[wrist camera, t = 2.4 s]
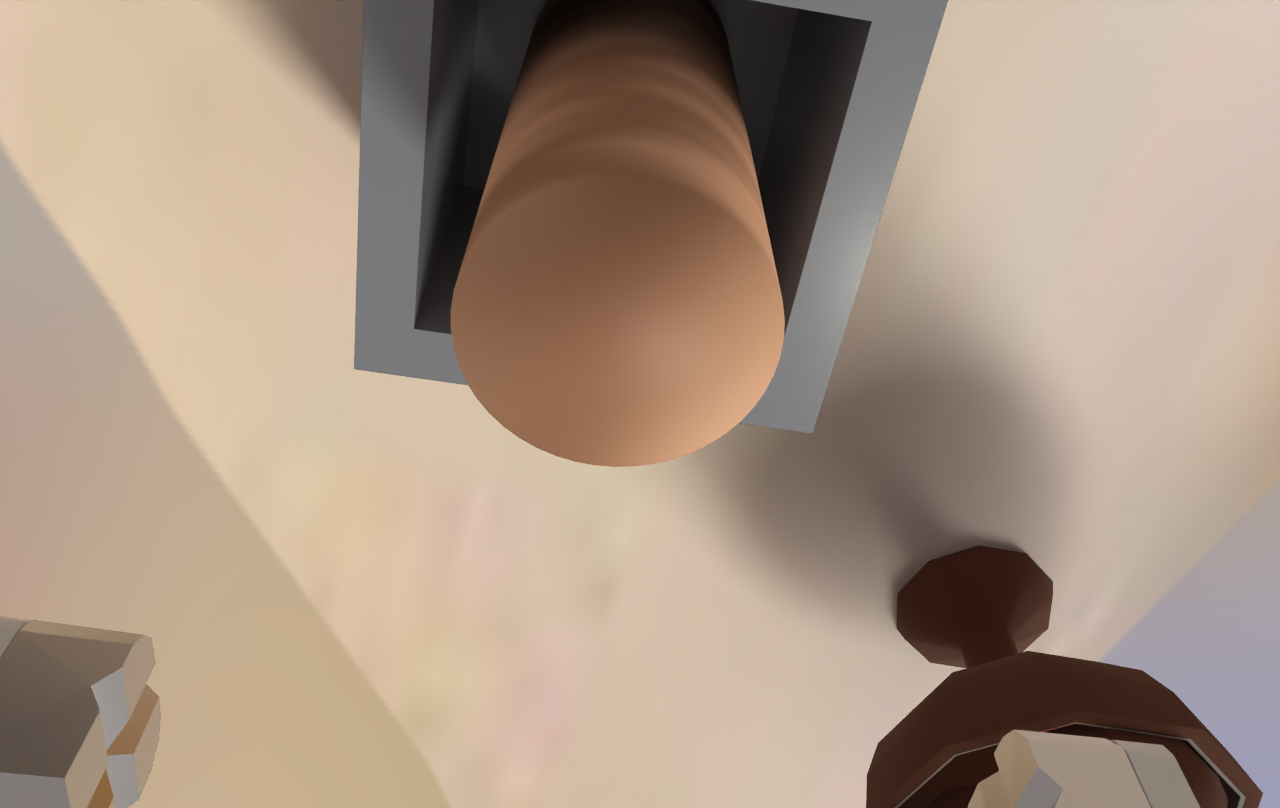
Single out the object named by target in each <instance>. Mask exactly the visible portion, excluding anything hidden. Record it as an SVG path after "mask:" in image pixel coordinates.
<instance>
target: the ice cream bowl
mask: <svg viewBox="0 0 1280 808" xmlns="http://www.w3.org/2000/svg"><path fill="white" fill-rule="evenodd" d="M1052 597H1053V582H1052V581H1051V580H1050V578H1049V577H1048V576H1047V575H1046V574H1045V573H1044V572H1043V571H1042V570H1041V569H1040V568H1039V567H1038V566H1037V565H1036V564H1035V562H1034V561H1033V560H1032V559H1031V558H1030V557H1029V556H1028V555H1027V554H1024V553H1018V552H1012V551H1006V550H1000V549H994V548H988V547H982V546H977V547H974V548H970V549H967V550H964V551H961V552H958V553H954V554H951V555H948V556H945V557H941V558H938V559H935V560H932V561H929V562H928V563H927V564H926V565H925V566H924V567H923V568H922V569H921V570H920V571H919V572H918V573H917V574H916V575H915V576H914V577H913V578H912V580H911V581H910V582H909V583H908V584H907V585H906V586H905V587H904V588H903V589H902V590H901V591H900V592H899V593H898V612H897V629H898V631H899V632H900V633H901V635H902V636H903V637H904V639H905V640H907V641H908V642H909V643H910V644H911V645H912V646H913V647H914V648H915V649H916V650H917V651H918V652H920V653H921V654H922V655H923V656H924V657H925V658H926V659H927V660H928V661H929V662H930V663H937V664H943V665H950V666H956V667H963V668H967V669H963V670H960V671H956V672H953V673H952V674H951V675H949V676H948V677H947V678H946V679H945V680H944V681H943V682H942V683H941V684H940V685H939V686H938V687H937V688H936V689H935V690H934V691H933V692H931V693H930V694H929V695H928V696H927V697H926V698H925V699H924V700H923V701H922V702H921V703H920V704H919V705H918V706H917V707H916V708H914V709H913V710H912V711H911V712H910V713H909V714H908V715H907V716H906V717H905V718H904V719H903V720H902V721H901V722H900V723H899V724H898V725H897V726H896V727H895V728H894V729H892V730H891V731H890V732H889V733H888V734H887V735H886V736H885V737H884V738H883V739H882V740H881V741H880V742H879V743H878V745H877V748H876V751H875V754H874V757H873V759H872V762H871V765H870V768H869V771H868V774H867V800H866V808H968V805H969V802H970V800H971V798H972V796H973V794H974V792H975V789H976V787H977V785H978V783H979V782H981V781H983V780H985V779H986V778H988V777H990V776H991V775H993V774H995V773H996V772H998V771H999V768H998V765H997V762H996V759H995V756H994V752H995V751H996V749H997V747H998V745H999V743H1000V742H1001V740H1002V738H1003V737H1004V736H1005V735H1006V734H1008V733H1009V732H1011V731H1012V730H1025V731H1035V732H1045V733H1055V734H1066V735H1076V736H1086V737H1096V738H1105V739H1108V740H1120V741H1129V742H1139V743H1148V744H1157V745H1163V746H1164V747H1165V748H1166V749H1168V750H1169V751H1170V752H1171V753H1172V754H1173V755H1174V757H1175V758H1176V760H1177V762H1178V764H1179V766H1180V768H1181V770H1182V772H1183V774H1184V776H1185V778H1186V780H1187V782H1188V784H1189V786H1190V788H1191V790H1192V792H1193V794H1194V796H1195V798H1196V800H1197V802H1198V804H1199V806H1200V808H1258V806H1259V803H1260V800H1261V797H1262V794H1263V793H1262V792H1261V790H1260V789H1259V788H1258V787H1257V786H1256V784H1255V783H1254V782H1253V781H1252V780H1251V778H1250V777H1249V776H1248V775H1247V773H1246V772H1245V771H1244V770H1243V769H1242V767H1241V766H1240V765H1239V764H1238V763H1237V761H1236V760H1235V759H1234V758H1233V757H1232V755H1231V754H1230V753H1229V752H1228V751H1227V750H1226V749H1225V747H1224V746H1223V745H1222V744H1221V743H1220V742H1219V741H1218V740H1217V739H1216V738H1215V737H1214V736H1213V735H1212V733H1211V732H1210V731H1209V730H1208V729H1207V728H1206V727H1205V726H1204V725H1203V724H1202V723H1201V722H1200V721H1199V720H1198V719H1197V717H1196V716H1195V715H1194V714H1193V713H1192V712H1191V711H1190V710H1189V709H1188V708H1187V706H1185V705H1184V703H1183V702H1182V701H1181V700H1180V699H1179V698H1178V697H1177V696H1176V695H1175V693H1174V692H1172V691H1171V690H1169V689H1168V688H1166V687H1165V686H1163V685H1162V684H1161V683H1159V682H1158V681H1156V680H1155V679H1154V678H1152V677H1151V676H1149V675H1148V674H1146V673H1145V672H1143V671H1141V670H1137V669H1132V668H1127V667H1121V666H1116V665H1111V664H1105V663H1101V662H1095V661H1088V660H1082V659H1076V658H1069V657H1063V656H1057V655H1050V654H1044V653H1038V652H1031V651H1026V652H1023V651H1024V650H1025V649H1026V648H1027V647H1028V646H1029V645H1030V644H1032V643H1033V642H1034V641H1035V640H1036V639H1037V638H1038V637H1039V636H1040V635H1041V634H1042V633H1044V632H1045V631H1046V630H1047V629H1048V626H1049V618H1050V611H1051V604H1052ZM1022 652H1023V653H1022Z"/></svg>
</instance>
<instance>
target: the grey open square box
mask: <svg viewBox="0 0 1280 808" xmlns="http://www.w3.org/2000/svg"><path fill="white" fill-rule="evenodd" d="M547 2H548V0H364V18H363V55H362V93H361V130H360V168H359V205H358V243H357V280H356V318H355V355H354V369H356V370H363V371H371V372H378V373H385V374H392V375H399V376H406V377H413V378H420V379H427V380H435V381H442V382H449V383H456V384H463V385H468V384H467V382H466V380H465V378H464V375H463V373H462V371H461V369H460V367H459V364H458V361H457V357H456V354H455V351H454V347H453V341H452V334H451V305H452V299H453V292H454V288H455V285H456V282H457V278H458V275H459V272H460V268H461V265H462V262H463V259H464V255H465V252H466V249H467V245H468V242H469V239H470V235H471V232H472V229H473V226H474V222H475V219H476V216H477V212H478V209H479V206H480V203H481V199H482V196H483V193H484V189H485V186H486V183H487V180H488V176H489V173H490V170H491V166H492V163H493V160H494V156H495V153H496V150H497V147H498V143H499V140H500V137H501V133H502V130H503V127H504V124H505V120H506V117H507V114H508V110H509V107H510V104H511V101H512V97H513V94H514V91H515V87H516V84H517V81H518V77H519V74H520V71H521V68H522V64H523V61H524V58H525V54H526V51H527V48H528V45H529V41H530V38H531V35H532V32H533V29H534V25H535V23H536V21H537V19H538V17H539V15H540V12H541V11H542V9H543V8H544V6H545V5H546V3H547ZM709 2H710V3H711V4H712V6H713V7H714V9H715V11H716V12H717V14H718V16H719V18H720V20H721V22H722V25H723V27H724V30H725V32H726V36H727V40H728V44H729V49H730V54H731V58H732V63H733V68H734V73H735V77H736V82H737V87H738V92H739V96H740V101H741V106H742V110H743V115H744V120H745V125H746V129H747V134H748V139H749V144H750V148H751V153H752V158H753V163H754V167H755V172H756V177H757V181H758V186H759V191H760V196H761V200H762V205H763V210H764V215H765V219H766V224H767V229H768V234H769V238H770V243H771V248H772V252H773V257H774V262H775V267H776V271H777V276H778V281H779V286H780V290H781V295H782V300H783V308H784V318H785V326H784V341H783V346H782V351H781V356H780V360H779V362H778V365H777V368H776V371H775V373H774V376H773V378H772V380H771V382H770V383H769V385H768V387H767V389H766V391H765V393H764V394H763V395H762V397H761V398H760V400H759V401H758V402H757V404H756V405H755V407H754V408H753V409H752V410H751V411H750V412H749V413H748V414H747V415H746V416H745V417H744V418H743V419H742V421H740V422H739V423H740V424H747V425H754V426H761V427H769V428H776V429H783V430H790V431H797V432H804V433H811V434H813V431H814V428H815V425H816V421H817V418H818V415H819V412H820V409H821V405H822V402H823V399H824V396H825V393H826V389H827V386H828V383H829V380H830V377H831V373H832V370H833V367H834V364H835V361H836V357H837V354H838V351H839V348H840V345H841V341H842V338H843V335H844V332H845V329H846V325H847V322H848V319H849V316H850V313H851V309H852V306H853V303H854V300H855V297H856V294H857V290H858V287H859V284H860V281H861V278H862V274H863V271H864V268H865V265H866V262H867V258H868V255H869V252H870V249H871V246H872V242H873V239H874V236H875V233H876V230H877V226H878V223H879V220H880V217H881V214H882V210H883V207H884V204H885V201H886V198H887V194H888V191H889V188H890V185H891V182H892V178H893V175H894V172H895V169H896V166H897V162H898V159H899V156H900V153H901V150H902V146H903V143H904V140H905V137H906V134H907V130H908V127H909V124H910V121H911V118H912V114H913V111H914V108H915V105H916V102H917V98H918V95H919V92H920V89H921V86H922V82H923V79H924V76H925V73H926V70H927V66H928V63H929V60H930V57H931V54H932V50H933V47H934V44H935V41H936V38H937V34H938V31H939V28H940V25H941V22H942V18H943V15H944V12H945V9H946V6H947V2H948V0H709Z"/></svg>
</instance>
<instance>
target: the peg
mask: <svg viewBox="0 0 1280 808" xmlns="http://www.w3.org/2000/svg"><path fill="white" fill-rule="evenodd" d="M784 326H785V318H784V308H783V300H782V295H781V290H780V286H779V281H778V276H777V271H776V267H775V262H774V257H773V252H772V248H771V243H770V238H769V234H768V229H767V224H766V219H765V215H764V210H763V205H762V200H761V196H760V191H759V186H758V181H757V177H756V172H755V167H754V163H753V158H752V153H751V148H750V144H749V139H748V134H747V129H746V125H745V120H744V115H743V110H742V106H741V101H740V96H739V92H738V87H737V82H736V77H735V73H734V68H733V63H732V58H731V54H730V49H729V44H728V40H727V36H726V32H725V30H724V27H723V25H722V22H721V20H720V18H719V16H718V14H717V12H716V11H715V9H714V7H713V6H712V4H711V3H710V2H709V0H548V2H547V3H546V5H545V6H544V8H543V9H542V11H541V12H540V15H539V17H538V19H537V21H536V23H535V25H534V29H533V32H532V35H531V38H530V41H529V45H528V48H527V51H526V54H525V58H524V61H523V64H522V68H521V71H520V74H519V77H518V81H517V84H516V87H515V91H514V94H513V97H512V101H511V104H510V107H509V110H508V114H507V117H506V120H505V124H504V127H503V130H502V133H501V137H500V140H499V143H498V147H497V150H496V153H495V156H494V160H493V163H492V166H491V170H490V173H489V176H488V180H487V183H486V186H485V189H484V193H483V196H482V199H481V203H480V206H479V209H478V212H477V216H476V219H475V222H474V226H473V229H472V232H471V235H470V239H469V242H468V245H467V249H466V252H465V255H464V259H463V262H462V265H461V268H460V272H459V275H458V278H457V282H456V285H455V288H454V292H453V299H452V305H451V334H452V341H453V347H454V351H455V354H456V357H457V361H458V364H459V367H460V369H461V371H462V373H463V375H464V378H465V380H466V382H467V384H468V385H469V387H470V388H471V390H472V391H473V393H474V395H475V396H476V398H477V399H478V400H479V401H480V403H481V404H482V405H483V406H484V407H485V409H486V410H487V411H488V412H489V413H490V414H491V415H492V416H493V417H494V418H495V419H496V420H497V421H498V422H499V423H501V424H502V425H503V426H504V427H505V428H507V429H508V430H509V431H511V432H512V433H513V434H515V435H516V436H518V437H519V438H521V439H522V440H524V441H526V442H528V443H529V444H531V445H533V446H535V447H537V448H539V449H541V450H543V451H546V452H548V453H551V454H553V455H555V456H559V457H562V458H565V459H569V460H572V461H576V462H581V463H586V464H592V465H601V466H613V467H620V466H640V465H647V464H655V463H659V462H663V461H667V460H672V459H675V458H678V457H681V456H683V455H686V454H689V453H692V452H694V451H696V450H698V449H700V448H702V447H704V446H706V445H708V444H710V443H712V442H713V441H715V440H717V439H718V438H720V437H721V436H723V435H724V434H726V433H727V432H728V431H730V430H731V429H732V428H733V427H734V426H736V425H737V424H738V423H739V422H740V421H742V419H743V418H744V417H745V416H746V415H747V414H748V413H749V412H750V411H751V410H752V409H753V408H754V407H755V405H756V404H757V402H758V401H759V400H760V398H761V397H762V395H763V394H764V393H765V391H766V389H767V387H768V385H769V383H770V382H771V380H772V378H773V376H774V373H775V371H776V368H777V365H778V362H779V360H780V356H781V351H782V346H783V341H784Z"/></svg>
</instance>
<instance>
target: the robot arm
mask: <svg viewBox="0 0 1280 808" xmlns="http://www.w3.org/2000/svg"><path fill="white" fill-rule="evenodd" d="M154 665H155V656H154V650H153V644H152V638H151V637H148V636H145V635H141V634H134V633H126V632H119V631H112V630H104V629H97V628H90V627H82V626H75V625H68V624H60V623H53V622H45V621H38V620H26V619H18V618H10V617H2V616H0V808H128V807H129V806H131V805H132V804H134V803H135V802H136V801H138V800H139V799H140V796H141V794H142V791H143V789H144V786H145V784H146V782H147V779H148V777H149V774H150V772H151V769H152V765H153V761H154V757H155V752H156V749H157V745H158V741H159V732H160V719H161V712H160V700H159V696H158V695H157V694H156V693H155V692H154V691H153V690H152V689H151V688H150V687H149V686H148V685H147V684H146V683H147V680H148V678H149V676H150V674H151V672H152V669H153V668H154ZM994 756H995V759H996V762H997V765H998V768H999V771H998V772H996V773H995V774H993V775H991V776H990V777H988V778H986V779H985V780H983V781H981V782H979V783H978V785H977V787H976V789H975V792H974V794H973V796H972V798H971V800H970V802H969V805H968V808H1200V806H1199V804H1198V802H1197V800H1196V798H1195V796H1194V794H1193V792H1192V790H1191V788H1190V786H1189V784H1188V782H1187V780H1186V778H1185V776H1184V774H1183V772H1182V770H1181V768H1180V766H1179V764H1178V762H1177V760H1176V758H1175V757H1174V755H1173V754H1172V753H1171V752H1170V751H1169V750H1168V749H1166V748H1165V747H1164V746H1163V745H1157V744H1148V743H1139V742H1129V741H1120V740H1108V739H1105V738H1096V737H1086V736H1076V735H1066V734H1055V733H1045V732H1035V731H1025V730H1012V731H1011V732H1009V733H1008V734H1006V735H1005V736H1004V737H1003V738H1002V740H1001V742H1000V743H999V745H998V747H997V749H996V751H995V752H994Z"/></svg>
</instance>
